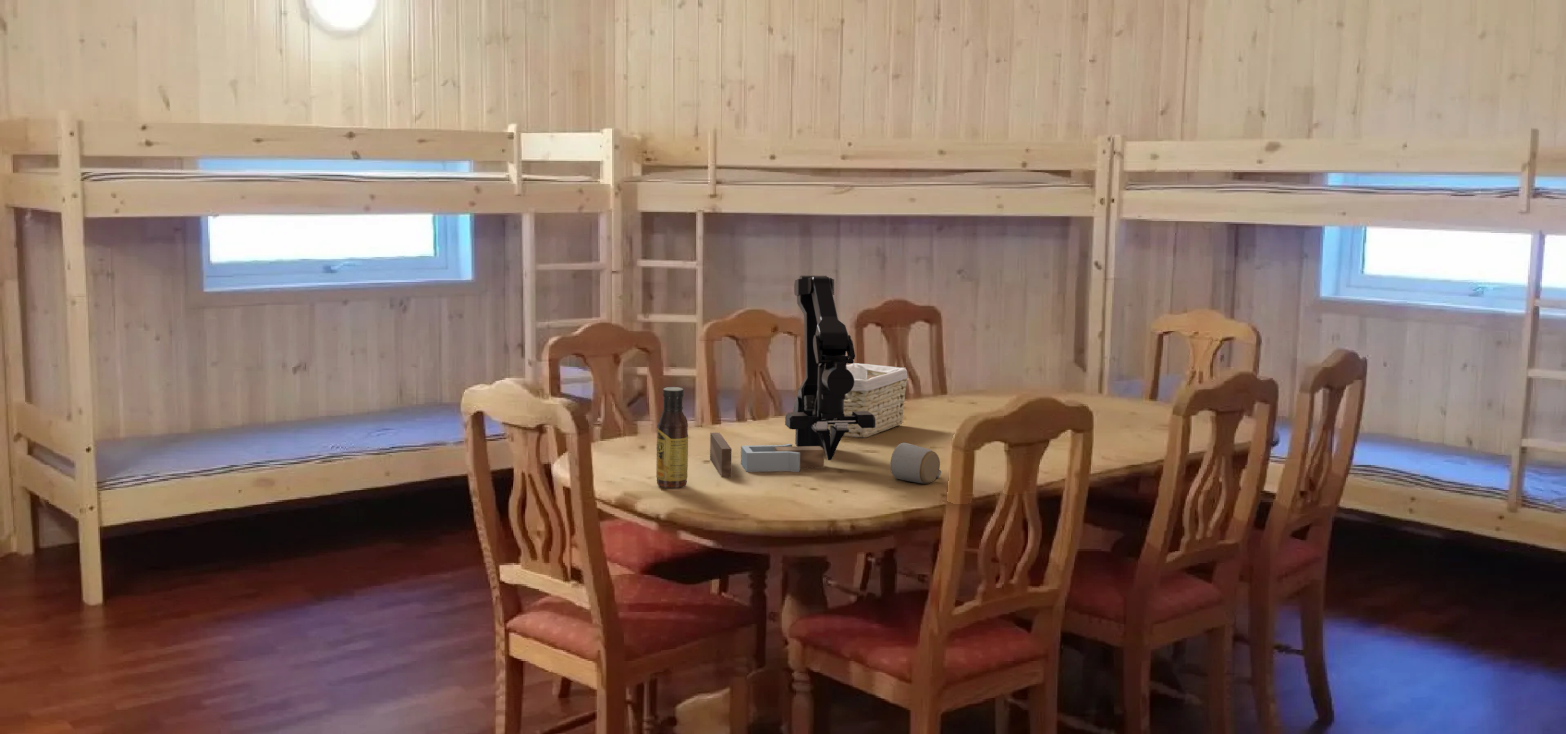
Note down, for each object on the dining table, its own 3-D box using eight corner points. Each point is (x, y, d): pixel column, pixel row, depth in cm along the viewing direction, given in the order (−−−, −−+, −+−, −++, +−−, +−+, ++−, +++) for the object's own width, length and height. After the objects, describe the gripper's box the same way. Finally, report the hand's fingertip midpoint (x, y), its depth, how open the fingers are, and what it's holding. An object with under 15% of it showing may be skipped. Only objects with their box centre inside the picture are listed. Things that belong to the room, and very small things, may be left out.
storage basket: (864, 440, 342) (866, 378, 340) (804, 432, 350) (806, 372, 348) (908, 426, 362) (910, 367, 360) (851, 419, 370) (853, 361, 368)
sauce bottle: (656, 482, 292) (657, 385, 289) (687, 482, 293) (688, 385, 290) (656, 489, 286) (656, 390, 283) (687, 489, 286) (688, 390, 283)
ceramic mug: (921, 487, 293) (923, 450, 292) (888, 481, 298) (890, 444, 297) (950, 480, 301) (952, 443, 300) (917, 474, 306) (919, 438, 305)
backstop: (719, 459, 316) (719, 432, 315) (731, 477, 298) (731, 448, 297) (710, 459, 315) (710, 432, 315) (721, 477, 298) (721, 448, 297)
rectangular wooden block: (819, 464, 313) (820, 446, 312) (823, 468, 309) (824, 449, 309) (774, 465, 311) (774, 446, 311) (777, 469, 307) (778, 450, 307)
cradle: (791, 461, 315) (791, 443, 314) (800, 472, 305) (800, 453, 304) (739, 462, 313) (740, 444, 312) (747, 473, 303) (747, 454, 302)
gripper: (864, 381, 318) (862, 451, 320) (780, 382, 315) (779, 453, 317) (876, 389, 307) (875, 461, 310) (791, 390, 304) (789, 463, 306)
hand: (829, 459), depth 311 cm, fingers closed
